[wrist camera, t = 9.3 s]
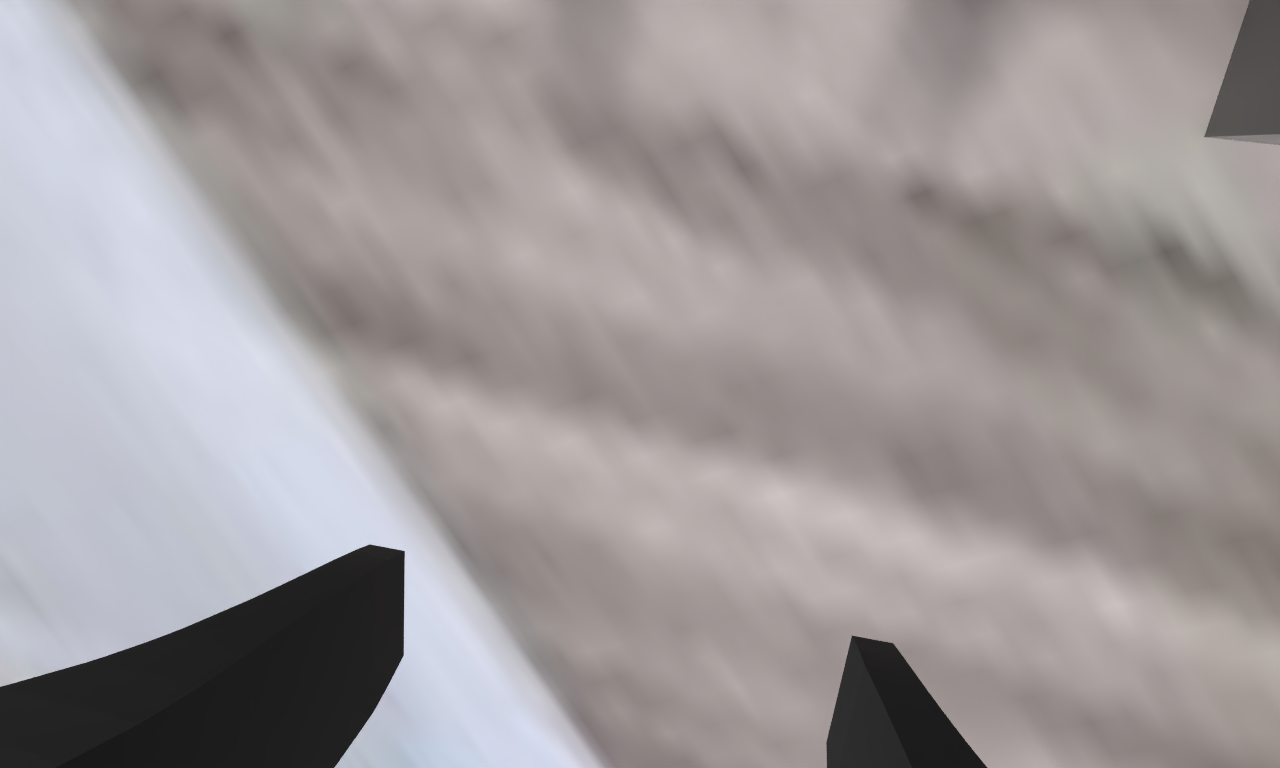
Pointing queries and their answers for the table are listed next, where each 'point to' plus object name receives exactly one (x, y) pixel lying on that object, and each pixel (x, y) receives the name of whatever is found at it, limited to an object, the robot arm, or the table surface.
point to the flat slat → (1252, 80)
